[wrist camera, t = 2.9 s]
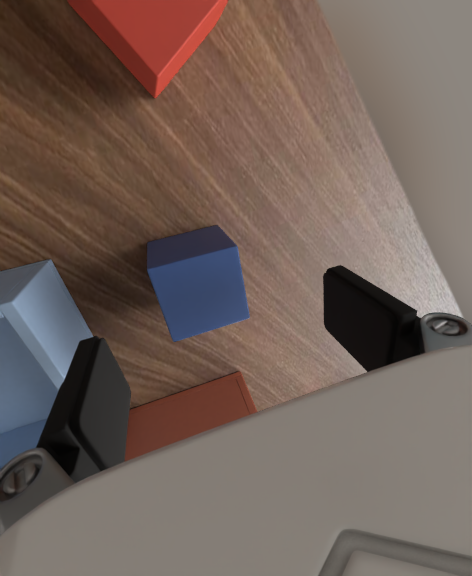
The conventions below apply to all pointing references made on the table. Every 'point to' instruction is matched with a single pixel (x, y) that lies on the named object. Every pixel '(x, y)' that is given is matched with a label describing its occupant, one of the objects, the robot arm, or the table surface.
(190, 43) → the red block
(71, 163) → the table surface
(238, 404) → the red bin
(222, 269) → the blue block
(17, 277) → the blue bin
